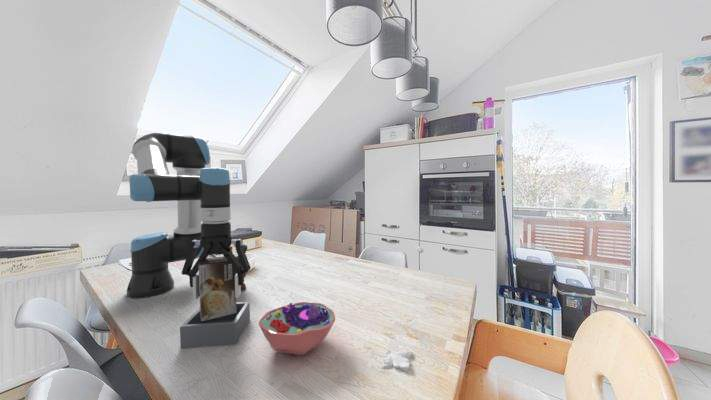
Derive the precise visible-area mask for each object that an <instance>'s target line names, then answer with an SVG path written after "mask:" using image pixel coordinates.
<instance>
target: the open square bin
mask: <svg viewBox="0 0 711 400" xmlns="http://www.w3.org/2000/svg"><path fill="white" fill-rule="evenodd" d="M250 304H251V303H250V301H240V302H239V301H238V302H237V301H236V311H237V313H234V314H230V315H226V316H222V317H218V318H214V319H210V320H206V321H202V322H201V315H200V307H198V308H197V310H195V312H193V313H192V314H191V316H190V317H189V318H187V319H186V320H185V321H184V322H182V324H181V325H180V326H179V335H180V337H179V339H180V340H179V341H180V349H181V350H182V349H183V350H184V349H197V348H211V347H212V348H213V347H224V346H225V347H227V346H236V345H238V342H239V340H240V338H241V337H242V335H243V333H244V331H245V330H246V328H247V326H248V324H249V322H250V320H251V315H250V314H251V313H250V312H251V311H250V308H251V307H250V306H251V305H250Z"/></svg>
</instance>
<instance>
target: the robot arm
mask: <svg viewBox="0 0 711 400" xmlns="http://www.w3.org/2000/svg"><path fill="white" fill-rule="evenodd" d="M208 145H209V144H208V142H207V141H206V139H205V138H203V137H202V136H201V137H200V136H196V135H186V134H179V133H178V134H177V133H168V132H161V131H160V132H158V131H157V132H150V133H148V134H145V135H143V136H140V137H139V138H137V140H135V142H133V145H132V155H133V157H134V159H135V160H136V165H137V173H134V174H131V175H130V176H129V197H130V200H132V201H133V202H146V203H152V202H174V201H175V202H176V201H177V226H176V227H175V229H173V234H168V233H167V232H166V231H160V232H152V233H148V234H143V235H140V236H136V237H135V238H133V239H132V240H131V242H130V253H131V255H130V257H131V258H130V259H131V277H130V279H129V283H128V285H127V288H126V297H128V298H129V299H130V298H132V299H141V298H148V297H154V296H157V295H161V294H164V293H166V292H168V291H170V290H172V289H174V287H175V281H174V280H175V279H173V276H172V274H171V272H170V270H169V264H171V263H175V262H182V261H184V264H183V268H182V270H181V274H182V276H188V277H189V287H190V288H192V300H193V301H195V300H198V299H199V298H200V293H199V263H198V261H203V260H205V259H207V258H209V257H208V256H210V255H211V256H212V255H222V256H224V257H226V258H227V260H235V262H234V261H233V268H234V270H235V271H236V272H237V274H236V275H235V298H236V299H237V298H239V297H240V296H241V294H242V291H241V285H242V284H243V283H245V277H244V273H246V274H247V273H248V272H249V271H250V270H251V264H250V263H249V260H248V256H247V254H246V253H245V251H244V249H243V245H244V244H243V238H238V239H233V238H232V228H231V226H232V225H231V224H232V223H231V222H230V220H231V217H232V216H231V177H230V171H229V170H228V169H227V168H222V167H206V166H208V165H210V161H211V157H210V155H211V154H210V150H209V149H210V148H209V146H208ZM167 163H172V165H171V166H172V168H173V169H174V171H176V174H170V172H169V169H168V165H167ZM231 245H233V247H234V248H235V252H236V254H237V256H238V257H239V259H240V262H241V264H240V263H239V261H238V260H237V259H236V256H235V254H234V253H233V249H232V248H231V247H230V246H231ZM196 259H197V260H196ZM195 260H196V262H195ZM194 262H195V263H194ZM193 264H194V265H193ZM241 265H242V266H241Z"/></svg>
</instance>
